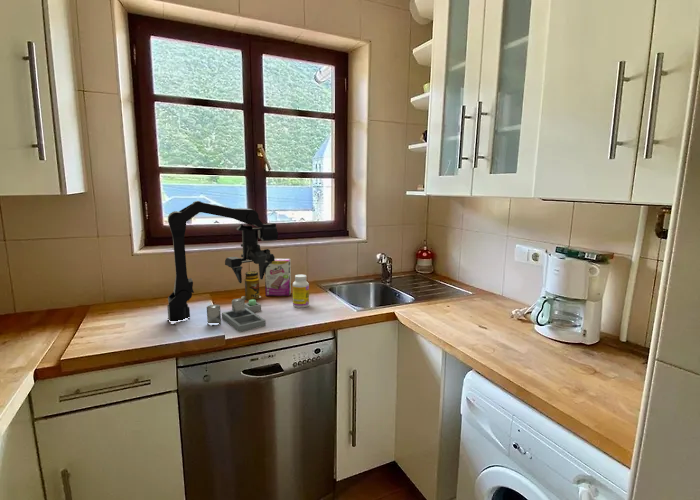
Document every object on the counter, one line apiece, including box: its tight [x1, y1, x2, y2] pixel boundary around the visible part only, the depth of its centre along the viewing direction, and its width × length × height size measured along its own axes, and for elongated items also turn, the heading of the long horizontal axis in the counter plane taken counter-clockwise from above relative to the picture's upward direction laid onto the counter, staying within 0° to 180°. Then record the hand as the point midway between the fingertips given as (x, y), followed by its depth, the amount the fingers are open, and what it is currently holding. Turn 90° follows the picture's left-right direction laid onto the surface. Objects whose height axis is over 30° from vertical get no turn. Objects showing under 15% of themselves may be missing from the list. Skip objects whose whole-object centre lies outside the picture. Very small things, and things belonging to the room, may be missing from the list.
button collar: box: [245, 301, 262, 313], centre depth 150 cm, size 5×5×3 cm
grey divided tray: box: [221, 308, 267, 333], centre depth 137 cm, size 10×17×3 cm, turn 38°
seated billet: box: [231, 297, 246, 318], centre depth 140 cm, size 4×4×7 cm
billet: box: [206, 304, 222, 325], centre depth 135 cm, size 4×4×7 cm
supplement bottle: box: [292, 273, 310, 309], centre depth 157 cm, size 7×7×13 cm
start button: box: [248, 299, 257, 306], centre depth 150 cm, size 3×3×3 cm
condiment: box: [241, 270, 262, 301], centre depth 165 cm, size 7×8×12 cm
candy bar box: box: [264, 258, 292, 297], centre depth 172 cm, size 11×5×16 cm, turn 94°
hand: (251, 281), depth 149 cm, fingers open, 9 cm apart
